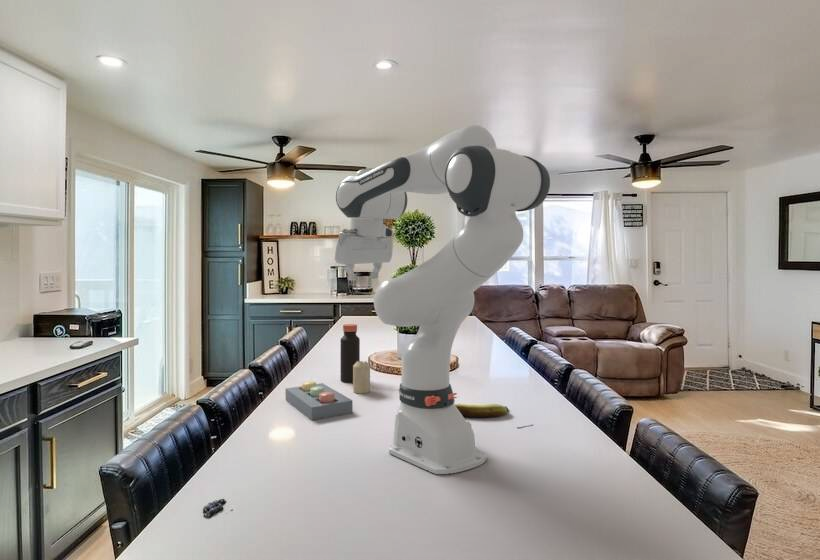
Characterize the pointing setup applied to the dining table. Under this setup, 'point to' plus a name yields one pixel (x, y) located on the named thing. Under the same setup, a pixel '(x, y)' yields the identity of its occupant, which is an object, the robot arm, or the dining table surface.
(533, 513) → the dining table surface
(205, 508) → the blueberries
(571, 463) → the dining table surface
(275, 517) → the dining table surface
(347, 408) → the button panel
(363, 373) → the candle
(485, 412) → the green and grey pieces
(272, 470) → the dining table surface
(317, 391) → the sage button
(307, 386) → the mustard button
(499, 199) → the robot arm
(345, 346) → the bottle
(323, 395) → the brick button
